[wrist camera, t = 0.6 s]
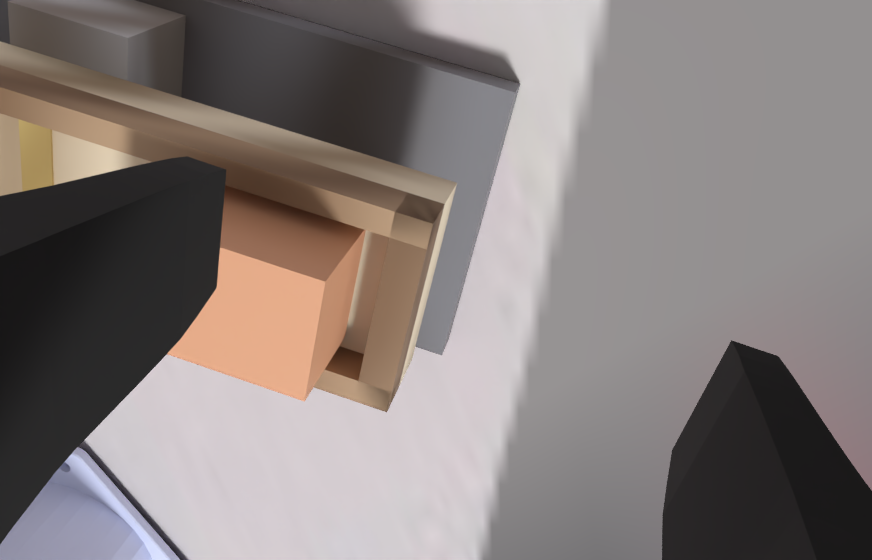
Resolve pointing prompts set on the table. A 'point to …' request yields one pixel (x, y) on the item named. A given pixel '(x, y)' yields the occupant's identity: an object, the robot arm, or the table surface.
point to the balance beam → (272, 141)
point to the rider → (276, 295)
